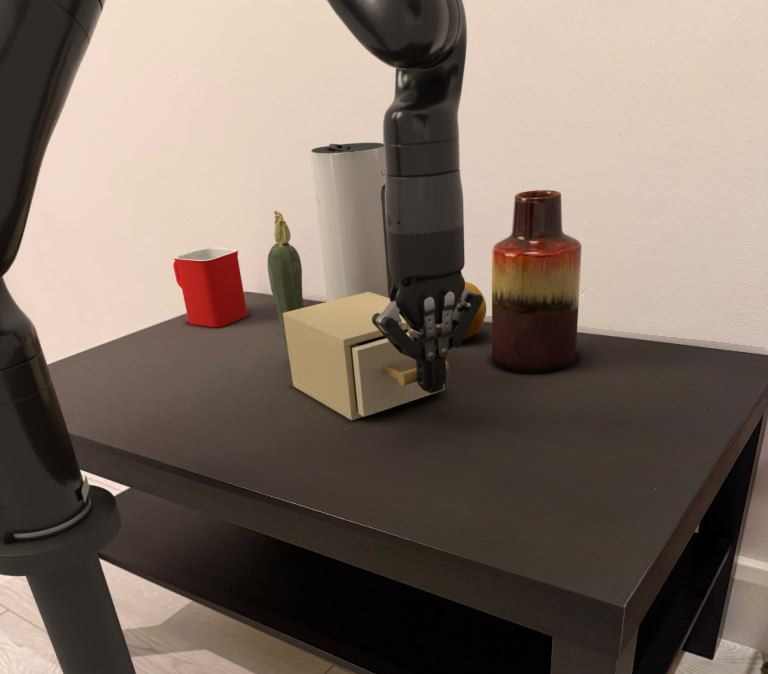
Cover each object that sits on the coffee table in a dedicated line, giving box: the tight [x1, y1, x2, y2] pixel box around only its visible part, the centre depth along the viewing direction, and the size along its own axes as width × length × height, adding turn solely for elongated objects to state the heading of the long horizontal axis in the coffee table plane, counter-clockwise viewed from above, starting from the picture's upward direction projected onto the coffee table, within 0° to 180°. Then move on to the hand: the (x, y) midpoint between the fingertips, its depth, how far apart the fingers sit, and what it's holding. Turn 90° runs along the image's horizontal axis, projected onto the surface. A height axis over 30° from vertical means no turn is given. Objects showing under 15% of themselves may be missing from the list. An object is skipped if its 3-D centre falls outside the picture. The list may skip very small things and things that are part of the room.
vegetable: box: [267, 210, 305, 349], centre depth 101 cm, size 4×4×20 cm
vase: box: [491, 189, 583, 374], centre depth 96 cm, size 11×11×20 cm
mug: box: [172, 246, 248, 328], centre depth 126 cm, size 12×8×11 cm
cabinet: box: [283, 292, 407, 421], centre depth 94 cm, size 15×13×10 cm
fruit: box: [454, 281, 487, 341], centre depth 108 cm, size 9×8×8 cm
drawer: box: [350, 329, 450, 418], centre depth 90 cm, size 18×11×8 cm, turn 34°
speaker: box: [310, 141, 393, 302], centre depth 109 cm, size 11×10×26 cm
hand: (432, 389), depth 83 cm, fingers closed
